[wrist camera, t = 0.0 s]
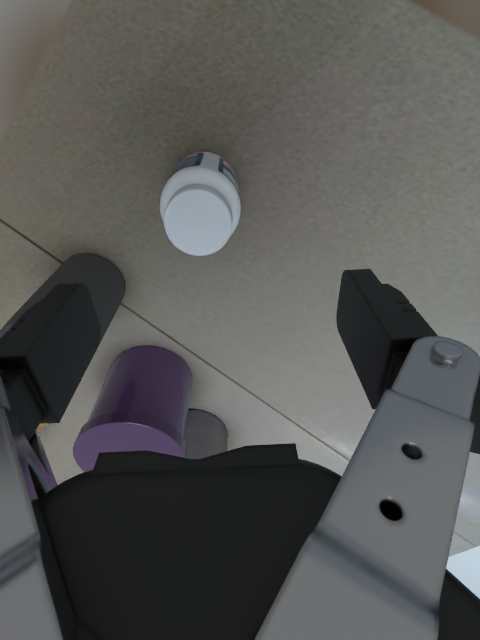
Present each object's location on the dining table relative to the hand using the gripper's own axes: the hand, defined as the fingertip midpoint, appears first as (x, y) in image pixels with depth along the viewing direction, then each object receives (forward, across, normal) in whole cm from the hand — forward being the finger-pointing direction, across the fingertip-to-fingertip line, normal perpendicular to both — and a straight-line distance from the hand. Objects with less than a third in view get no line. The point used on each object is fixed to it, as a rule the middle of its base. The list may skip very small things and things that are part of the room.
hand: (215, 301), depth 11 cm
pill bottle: (+19, +2, +1) cm, 19 cm away
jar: (+19, +10, +21) cm, 30 cm away
